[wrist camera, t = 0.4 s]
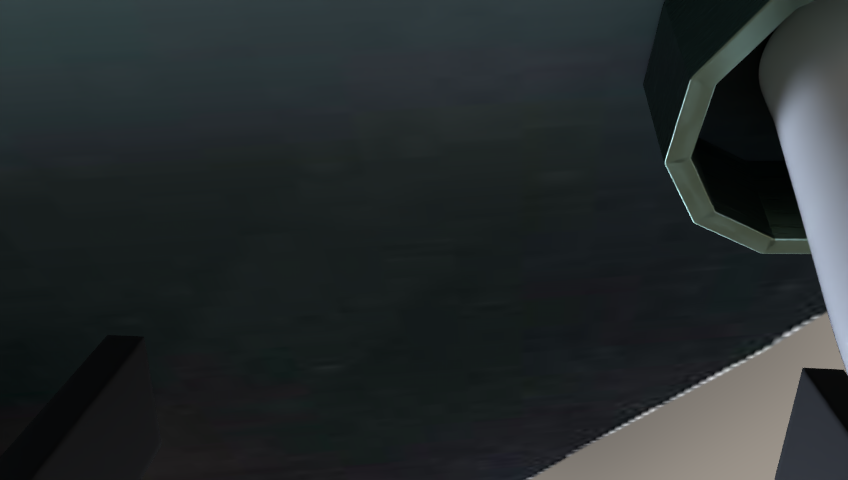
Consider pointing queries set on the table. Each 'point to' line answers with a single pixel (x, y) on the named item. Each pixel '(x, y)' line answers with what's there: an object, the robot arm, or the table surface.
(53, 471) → the robot arm
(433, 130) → the table surface
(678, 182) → the dark faceted bowl
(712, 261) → the table surface
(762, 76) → the drinking glass
